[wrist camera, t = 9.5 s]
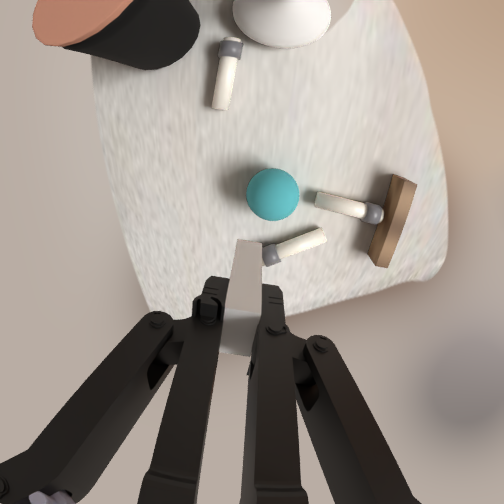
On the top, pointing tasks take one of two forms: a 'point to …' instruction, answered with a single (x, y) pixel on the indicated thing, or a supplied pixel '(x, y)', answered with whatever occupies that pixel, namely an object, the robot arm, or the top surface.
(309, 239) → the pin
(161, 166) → the top surface
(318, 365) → the robot arm
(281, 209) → the ball
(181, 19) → the coffee jar
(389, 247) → the back wall
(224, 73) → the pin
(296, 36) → the flower in vase
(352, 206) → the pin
